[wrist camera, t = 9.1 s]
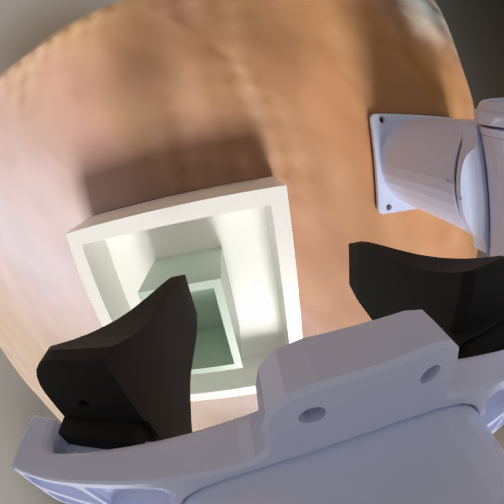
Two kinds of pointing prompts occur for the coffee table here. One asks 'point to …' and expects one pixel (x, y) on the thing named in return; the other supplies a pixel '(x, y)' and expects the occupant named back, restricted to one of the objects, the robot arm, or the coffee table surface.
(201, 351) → the small crate
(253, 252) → the white shallow tray
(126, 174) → the coffee table surface
